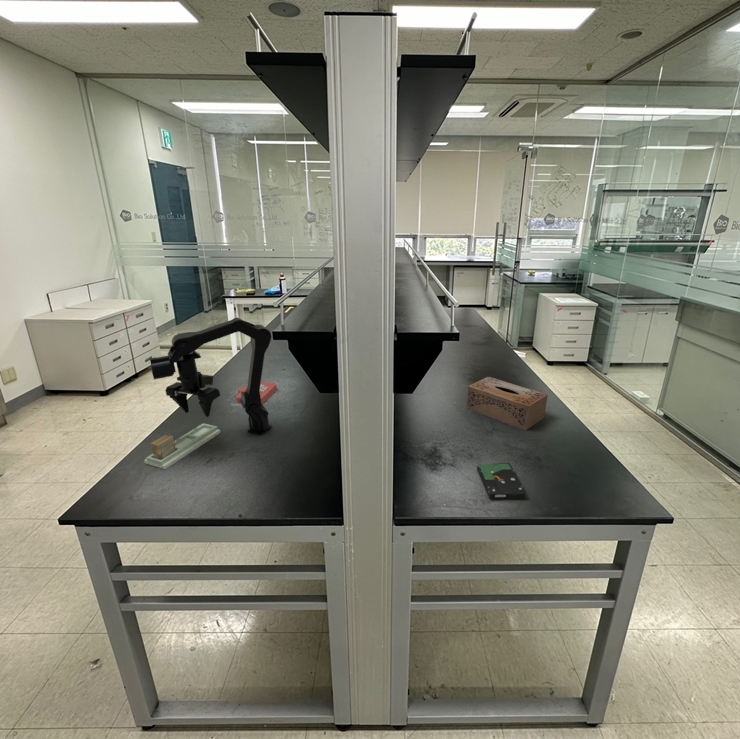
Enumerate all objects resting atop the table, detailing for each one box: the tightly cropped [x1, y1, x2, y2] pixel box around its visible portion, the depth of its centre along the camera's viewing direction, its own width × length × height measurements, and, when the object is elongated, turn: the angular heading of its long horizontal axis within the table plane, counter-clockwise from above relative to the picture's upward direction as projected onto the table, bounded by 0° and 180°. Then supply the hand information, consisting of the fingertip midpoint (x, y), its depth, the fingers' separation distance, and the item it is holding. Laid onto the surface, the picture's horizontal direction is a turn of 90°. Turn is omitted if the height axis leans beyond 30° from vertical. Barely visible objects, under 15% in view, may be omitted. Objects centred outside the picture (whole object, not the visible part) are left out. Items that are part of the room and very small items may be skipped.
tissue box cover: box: [466, 376, 549, 431], centre depth 164 cm, size 26×14×10 cm, turn 43°
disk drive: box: [476, 462, 527, 501], centre depth 123 cm, size 10×3×15 cm
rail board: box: [143, 423, 221, 470], centre depth 145 cm, size 9×25×3 cm, turn 156°
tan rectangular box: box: [150, 434, 176, 460], centre depth 137 cm, size 3×6×6 cm, turn 156°
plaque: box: [235, 381, 278, 405], centre depth 184 cm, size 18×4×15 cm
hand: (197, 414), depth 143 cm, fingers open, 9 cm apart
